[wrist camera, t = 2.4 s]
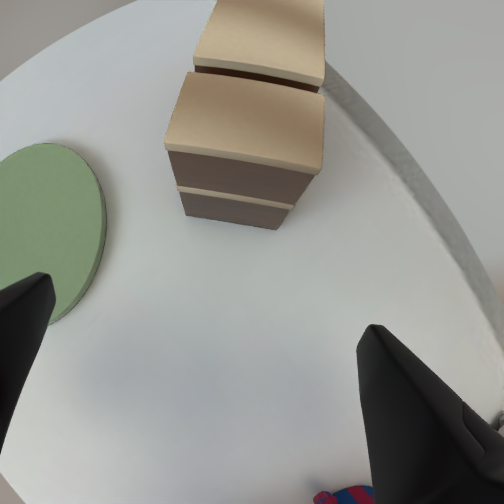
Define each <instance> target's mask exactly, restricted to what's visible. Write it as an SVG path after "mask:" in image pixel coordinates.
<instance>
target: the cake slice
mask: <svg viewBox="0 0 504 504" xmlns="http://www.w3.org/2000/svg"><path fill="white" fill-rule="evenodd" d="M324 113H325V96H324V95H321V94H317V93H313V92H309V91H305V90H300V89H296V88H291V87H287V86H282V85H277V84H272V83H267V82H261V81H256V80H250V79H243V78H237V77H230V76H223V75H215V74H206V73H196V72H188V73H187V75H186V78H185V80H184V83H183V86H182V88H181V91H180V94H179V97H178V100H177V103H176V105H175V108H174V111H173V114H172V117H171V120H170V123H169V126H168V130H167V133H166V136H165V139H164V145H165V149H166V150H167V151H168V155H169V158H170V162H171V165H172V169H173V173H174V176H175V180H176V183H177V184H176V186H177V190H178V191H179V193H180V197H181V200H182V204H183V207H184V210H185V214H186V215H187V216H193V217H200V218H206V219H212V220H218V221H225V222H231V223H237V224H243V225H249V226H255V227H261V228H266V229H272V230H277V228H278V227H279V225H280V224H281V223H282V221H283V220H284V218H285V217H286V216H287V214H288V213H289V211H290V210H292V209H293V208H294V206H295V203H296V202H297V200H298V199H299V198H300V196H301V195H302V193H303V192H304V191H305V189H306V188H307V186H308V185H309V184H310V182H311V181H312V179H313V178H314V177H315V175H318V173H319V172H320V171H321V169H322V159H323V139H324Z"/></svg>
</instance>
